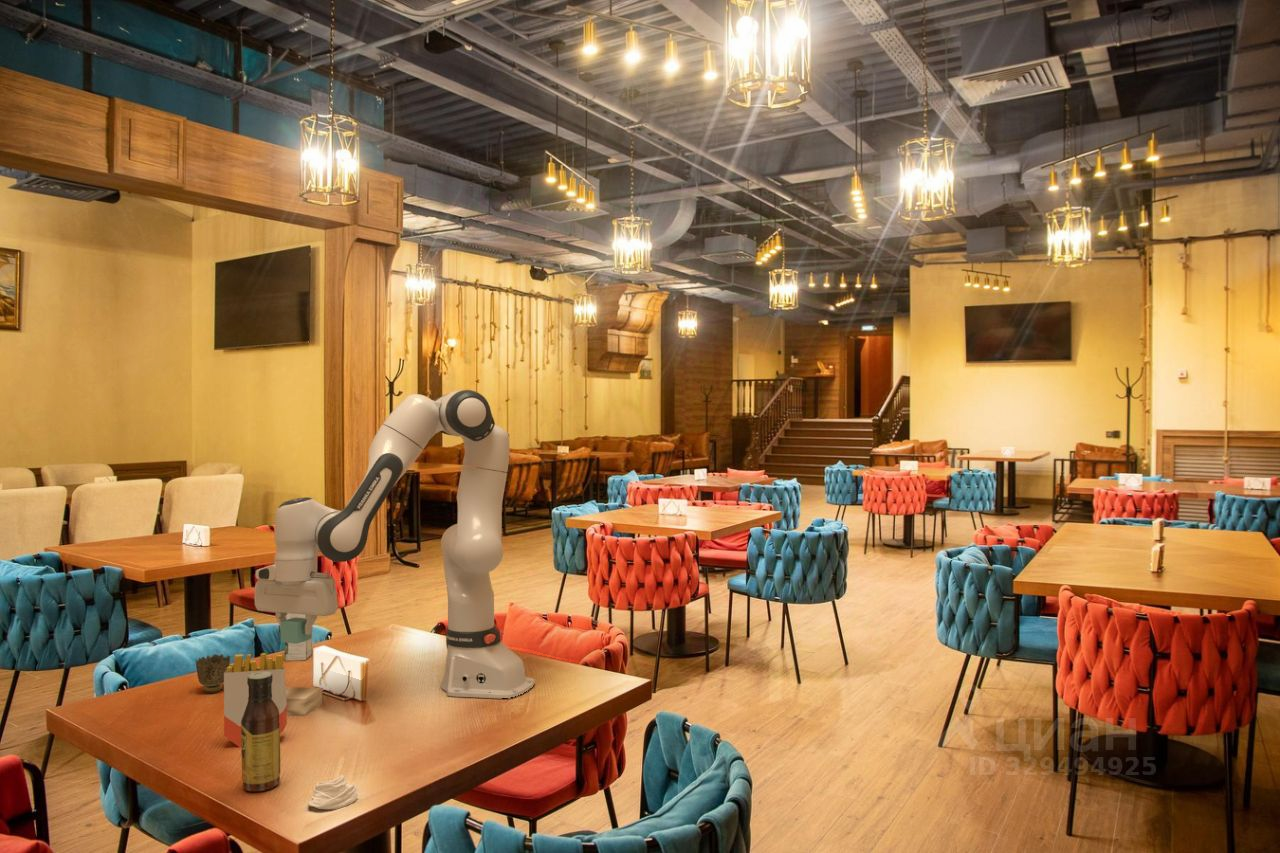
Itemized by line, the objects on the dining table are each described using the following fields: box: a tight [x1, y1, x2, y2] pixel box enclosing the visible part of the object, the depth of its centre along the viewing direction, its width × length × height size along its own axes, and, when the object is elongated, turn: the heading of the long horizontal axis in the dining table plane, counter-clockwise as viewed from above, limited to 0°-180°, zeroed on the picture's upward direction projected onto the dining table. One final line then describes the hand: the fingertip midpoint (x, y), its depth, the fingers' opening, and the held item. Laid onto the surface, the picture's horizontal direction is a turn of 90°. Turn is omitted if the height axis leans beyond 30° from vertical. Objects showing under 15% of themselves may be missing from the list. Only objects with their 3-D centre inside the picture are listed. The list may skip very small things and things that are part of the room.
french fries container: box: [223, 652, 288, 748], centre depth 171 cm, size 5×11×18 cm, turn 104°
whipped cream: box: [307, 774, 358, 810], centre depth 144 cm, size 8×7×5 cm
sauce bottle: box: [240, 671, 281, 792], centre depth 150 cm, size 6×6×20 cm
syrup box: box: [284, 613, 313, 662], centre depth 232 cm, size 6×6×14 cm
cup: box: [195, 653, 231, 694], centre depth 204 cm, size 8×7×8 cm
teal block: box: [280, 617, 311, 644], centre depth 190 cm, size 4×4×4 cm
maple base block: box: [286, 686, 323, 717], centre depth 191 cm, size 8×8×4 cm
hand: (296, 633), depth 190 cm, fingers closed on teal block, 4 cm apart
